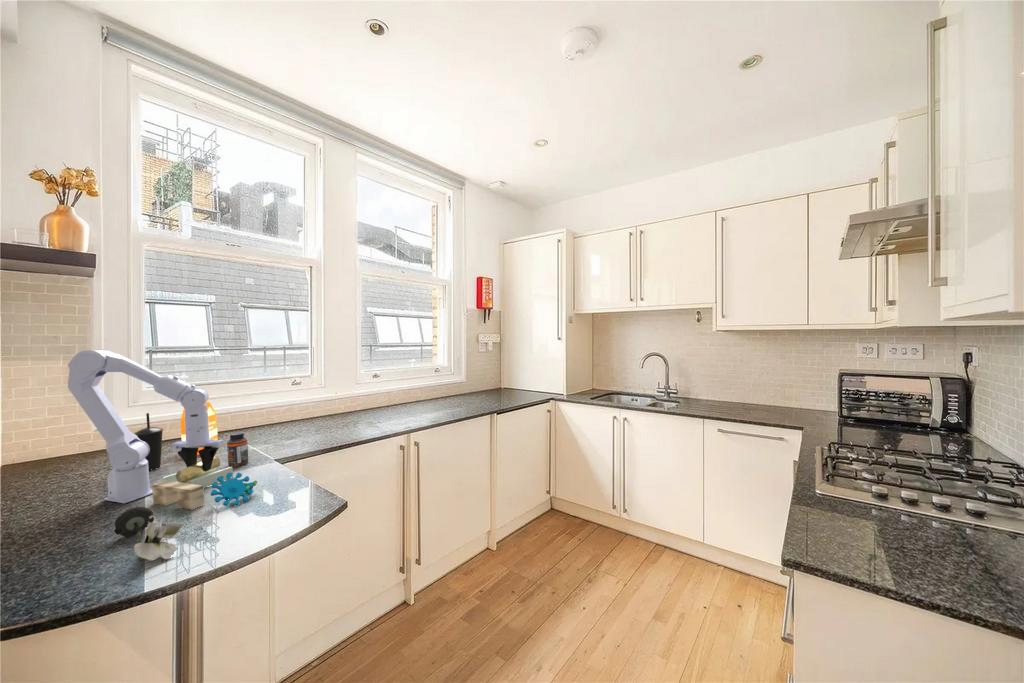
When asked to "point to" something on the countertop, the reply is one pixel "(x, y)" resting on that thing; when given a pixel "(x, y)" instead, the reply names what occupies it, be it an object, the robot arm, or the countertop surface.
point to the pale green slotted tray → (204, 477)
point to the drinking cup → (152, 443)
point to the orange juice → (211, 424)
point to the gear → (232, 489)
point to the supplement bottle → (237, 449)
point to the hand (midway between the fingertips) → (199, 470)
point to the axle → (195, 471)
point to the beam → (178, 494)
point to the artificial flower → (137, 522)
